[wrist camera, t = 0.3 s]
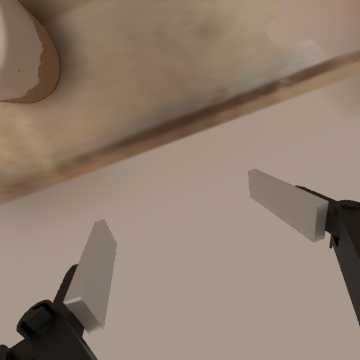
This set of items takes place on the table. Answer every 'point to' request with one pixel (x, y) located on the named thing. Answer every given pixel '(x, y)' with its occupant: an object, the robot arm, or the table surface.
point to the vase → (25, 56)
